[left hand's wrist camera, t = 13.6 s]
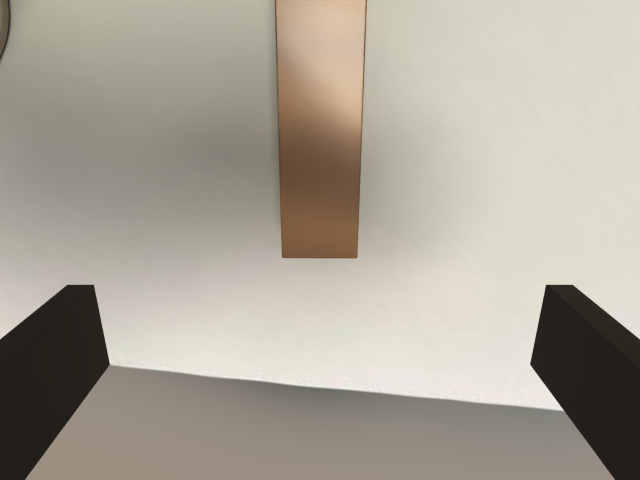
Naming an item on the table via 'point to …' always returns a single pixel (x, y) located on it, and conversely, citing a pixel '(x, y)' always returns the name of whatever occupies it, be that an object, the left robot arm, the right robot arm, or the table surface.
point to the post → (320, 124)
